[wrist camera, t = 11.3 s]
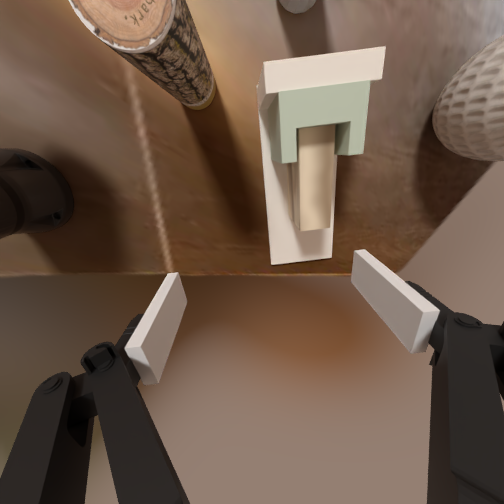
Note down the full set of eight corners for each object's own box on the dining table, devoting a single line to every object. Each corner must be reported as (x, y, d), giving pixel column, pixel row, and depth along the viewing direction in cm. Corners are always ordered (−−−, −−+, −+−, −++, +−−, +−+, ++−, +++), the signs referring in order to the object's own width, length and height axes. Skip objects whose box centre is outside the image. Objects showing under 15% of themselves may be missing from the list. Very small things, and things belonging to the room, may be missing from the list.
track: (271, 263, 51) (279, 296, 39) (256, 86, 36) (263, 56, 24) (330, 256, 50) (356, 287, 39) (339, 75, 36) (386, 40, 24)
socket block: (271, 159, 40) (282, 163, 29) (267, 108, 36) (278, 91, 26) (329, 152, 40) (363, 153, 29) (332, 100, 36) (370, 79, 26)
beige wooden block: (288, 214, 45) (300, 231, 36) (285, 133, 38) (299, 128, 29) (312, 211, 45) (330, 227, 36) (313, 130, 38) (335, 124, 29)
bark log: (224, 81, 35) (194, -39, 13) (203, 119, 38) (146, 75, 15) (187, 48, 33) (76, -159, 11) (167, 91, 36) (40, -7, 13)
